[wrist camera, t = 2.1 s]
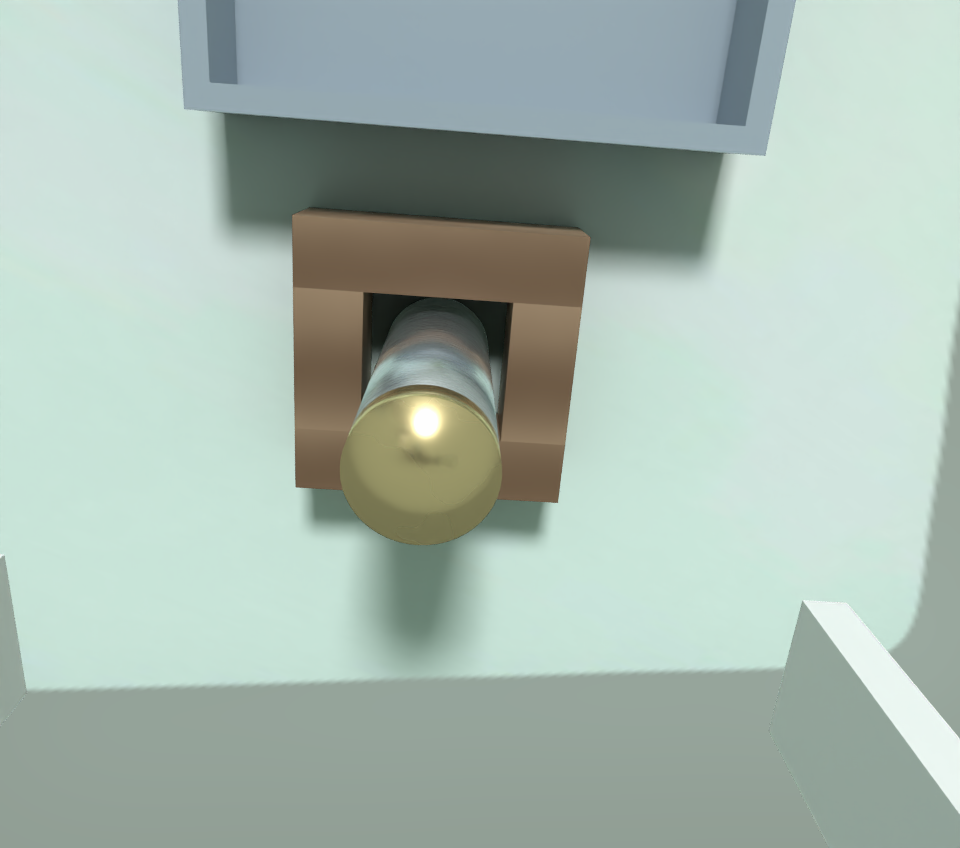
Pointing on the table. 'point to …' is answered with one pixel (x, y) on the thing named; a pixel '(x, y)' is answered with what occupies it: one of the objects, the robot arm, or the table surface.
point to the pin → (426, 429)
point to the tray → (498, 66)
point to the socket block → (445, 274)
